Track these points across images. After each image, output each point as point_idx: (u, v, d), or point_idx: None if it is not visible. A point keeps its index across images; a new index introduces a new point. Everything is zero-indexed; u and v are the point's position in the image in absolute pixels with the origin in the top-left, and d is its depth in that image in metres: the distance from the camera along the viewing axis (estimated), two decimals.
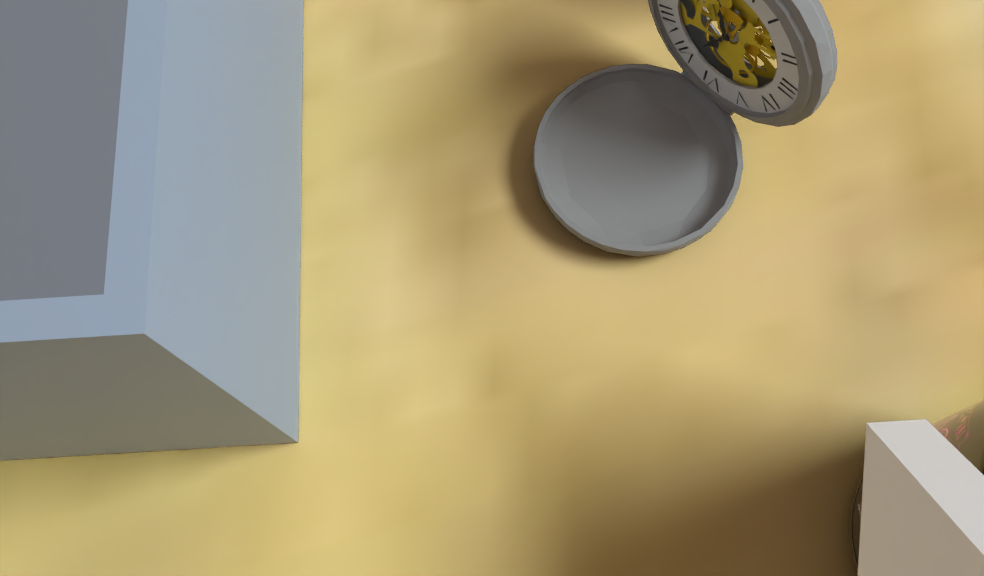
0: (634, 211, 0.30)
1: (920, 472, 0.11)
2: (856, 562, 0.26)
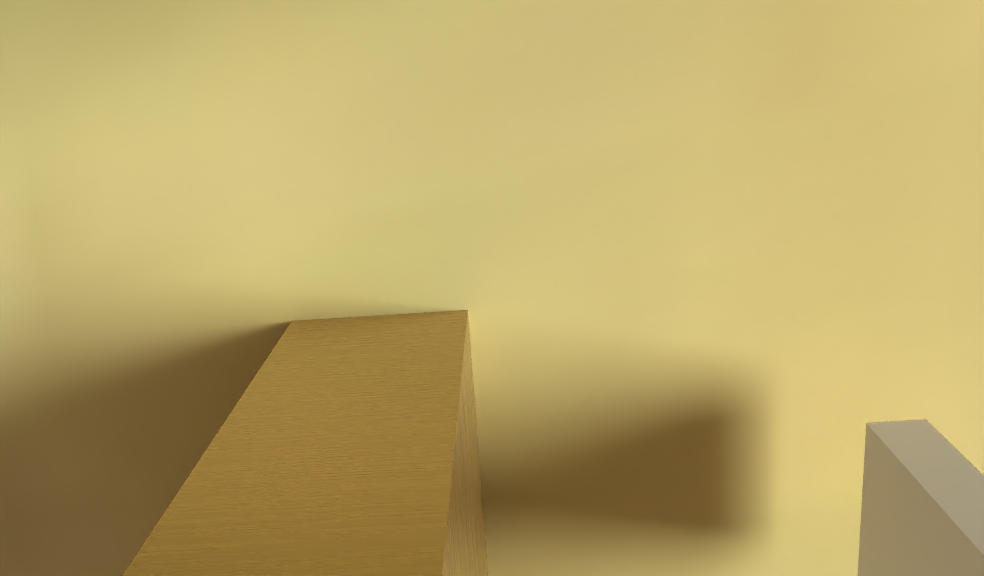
0: None
1: (919, 472, 0.11)
2: None
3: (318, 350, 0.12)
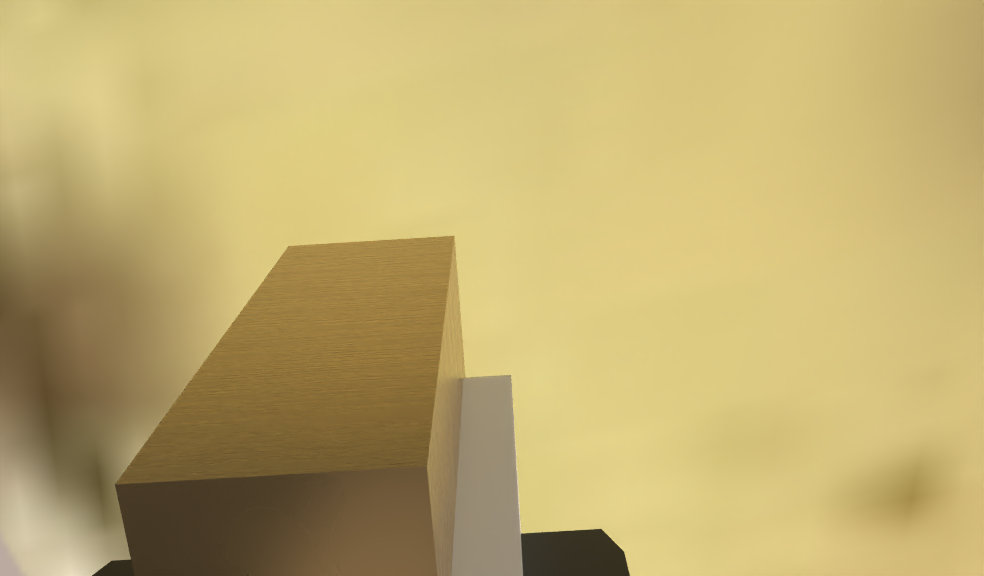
0: None
1: (465, 414, 0.13)
2: None
3: (314, 270, 0.13)
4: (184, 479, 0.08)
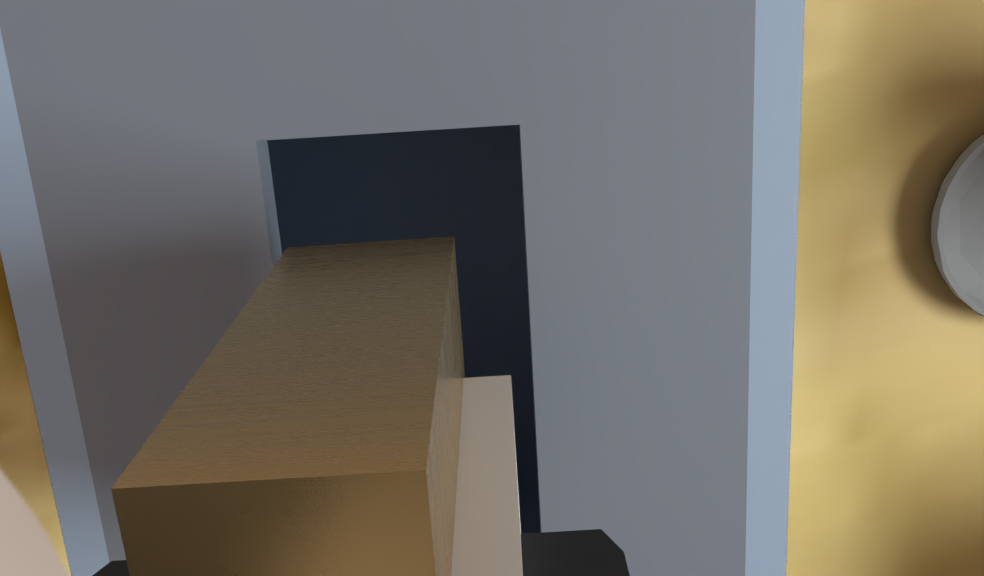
0: None
1: (465, 414, 0.13)
2: None
3: (313, 271, 0.13)
4: (180, 483, 0.07)
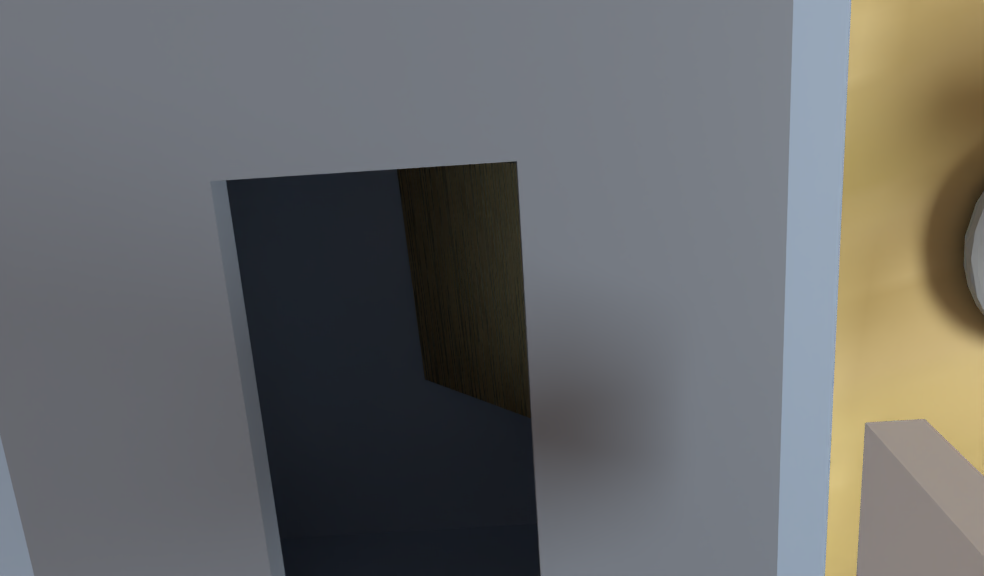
0: None
1: (918, 472, 0.11)
2: None
3: None
4: None
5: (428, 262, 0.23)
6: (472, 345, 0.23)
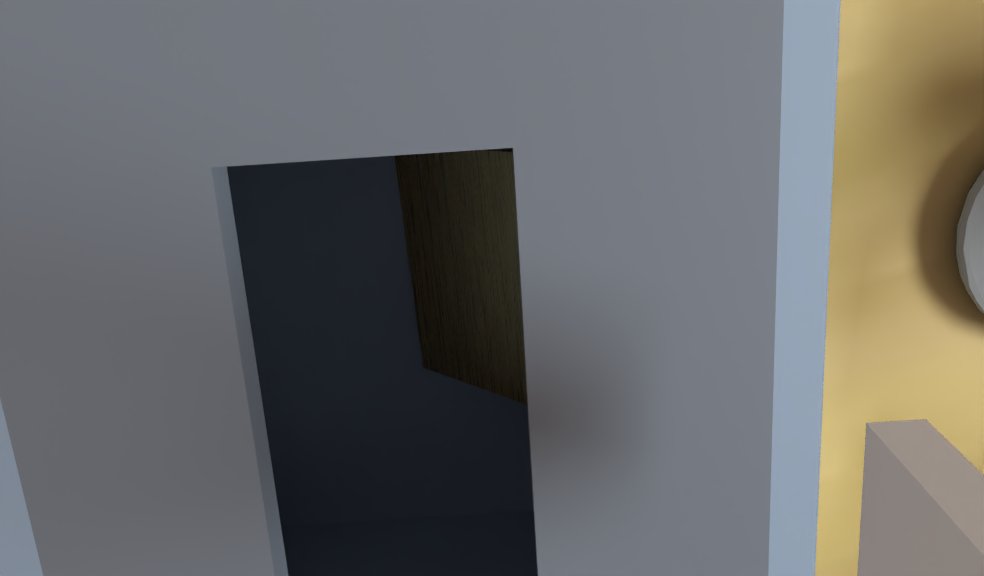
0: None
1: (918, 473, 0.11)
2: None
3: None
4: None
5: (426, 251, 0.23)
6: (469, 332, 0.23)
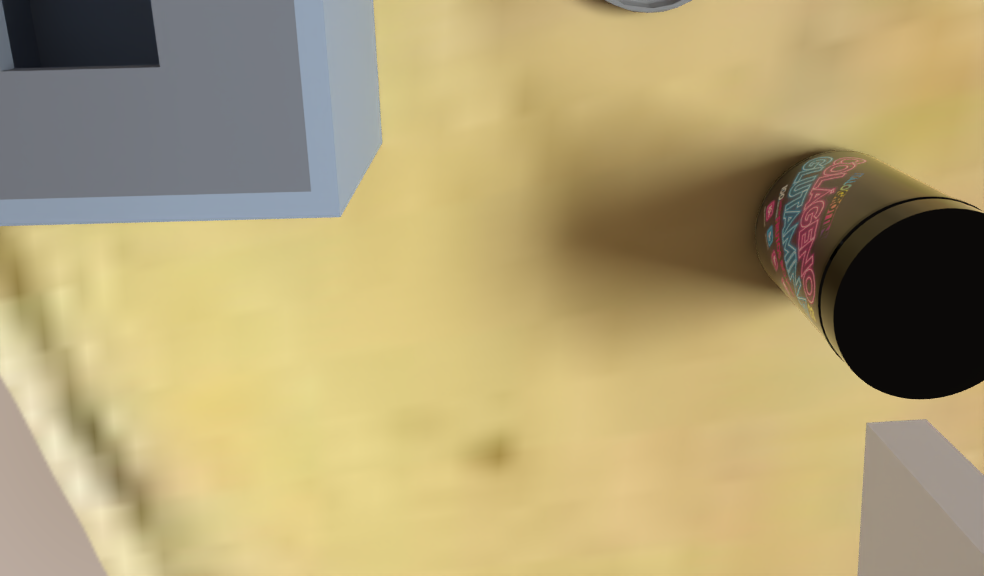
0: None
1: (919, 472, 0.11)
2: (755, 238, 0.40)
3: None
4: None
5: None
6: None
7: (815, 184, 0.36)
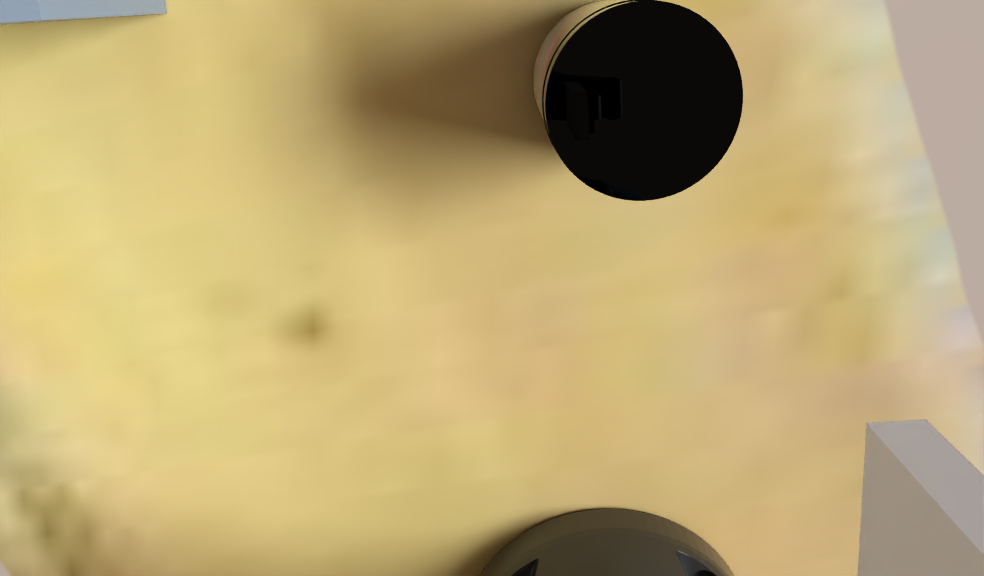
0: None
1: (919, 473, 0.11)
2: (534, 93, 0.41)
3: None
4: None
5: None
6: None
7: (567, 22, 0.38)
